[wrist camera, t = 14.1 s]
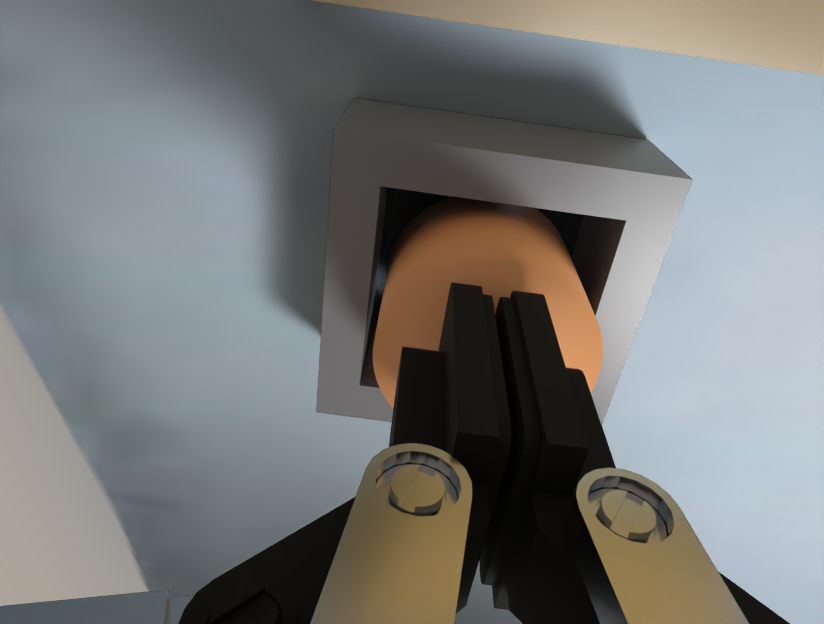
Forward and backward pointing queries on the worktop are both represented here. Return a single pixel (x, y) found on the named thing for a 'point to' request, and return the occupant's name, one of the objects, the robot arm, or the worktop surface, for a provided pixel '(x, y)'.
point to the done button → (480, 280)
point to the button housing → (495, 182)
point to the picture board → (652, 25)
